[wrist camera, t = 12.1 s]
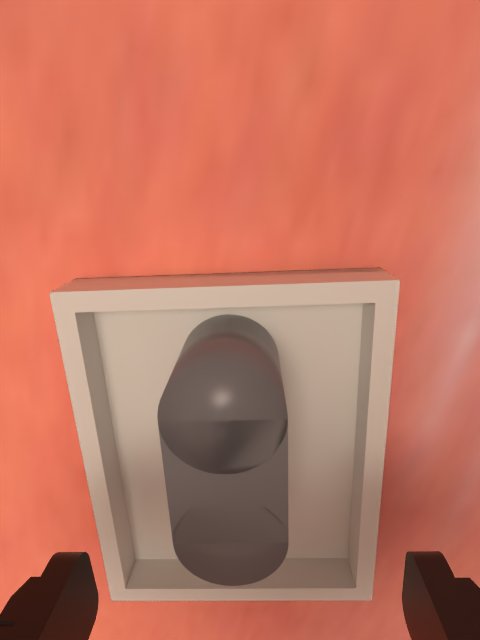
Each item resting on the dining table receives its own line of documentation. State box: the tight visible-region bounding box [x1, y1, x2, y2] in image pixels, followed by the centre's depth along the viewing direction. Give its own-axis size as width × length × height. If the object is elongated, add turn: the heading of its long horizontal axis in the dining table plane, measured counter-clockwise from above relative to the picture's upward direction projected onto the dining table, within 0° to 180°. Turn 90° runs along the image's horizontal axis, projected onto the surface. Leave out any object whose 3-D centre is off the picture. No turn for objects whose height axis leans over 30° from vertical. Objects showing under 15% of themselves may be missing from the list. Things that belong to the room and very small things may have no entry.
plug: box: [157, 314, 289, 586], centre depth 14 cm, size 4×9×4 cm, turn 2°
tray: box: [49, 268, 400, 601], centre depth 15 cm, size 11×14×2 cm
